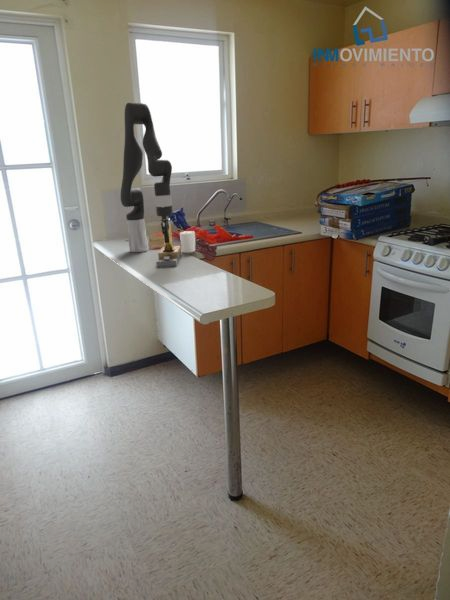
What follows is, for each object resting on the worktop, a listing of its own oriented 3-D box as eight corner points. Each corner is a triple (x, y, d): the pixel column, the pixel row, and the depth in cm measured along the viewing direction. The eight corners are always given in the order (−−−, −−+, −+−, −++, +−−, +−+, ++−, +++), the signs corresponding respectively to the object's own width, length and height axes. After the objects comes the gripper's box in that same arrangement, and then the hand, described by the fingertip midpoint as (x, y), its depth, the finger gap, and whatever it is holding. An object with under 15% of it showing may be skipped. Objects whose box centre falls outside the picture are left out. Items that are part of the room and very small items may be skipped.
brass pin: (163, 250, 204) (161, 225, 200) (165, 248, 208) (162, 223, 204) (172, 249, 204) (169, 224, 200) (173, 248, 208) (170, 223, 204)
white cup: (182, 253, 222) (181, 234, 219) (180, 250, 229) (178, 232, 226) (197, 251, 224) (196, 232, 221) (194, 249, 231) (193, 230, 228)
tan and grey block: (156, 267, 197) (155, 253, 195) (163, 256, 218) (162, 243, 216) (176, 266, 197) (174, 252, 195) (181, 255, 218) (180, 242, 216)
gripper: (158, 203, 206) (162, 239, 212) (153, 207, 193) (157, 245, 198) (173, 203, 206) (177, 238, 211) (169, 206, 192) (173, 244, 198)
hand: (167, 241), depth 205 cm, fingers closed on brass pin, 4 cm apart
